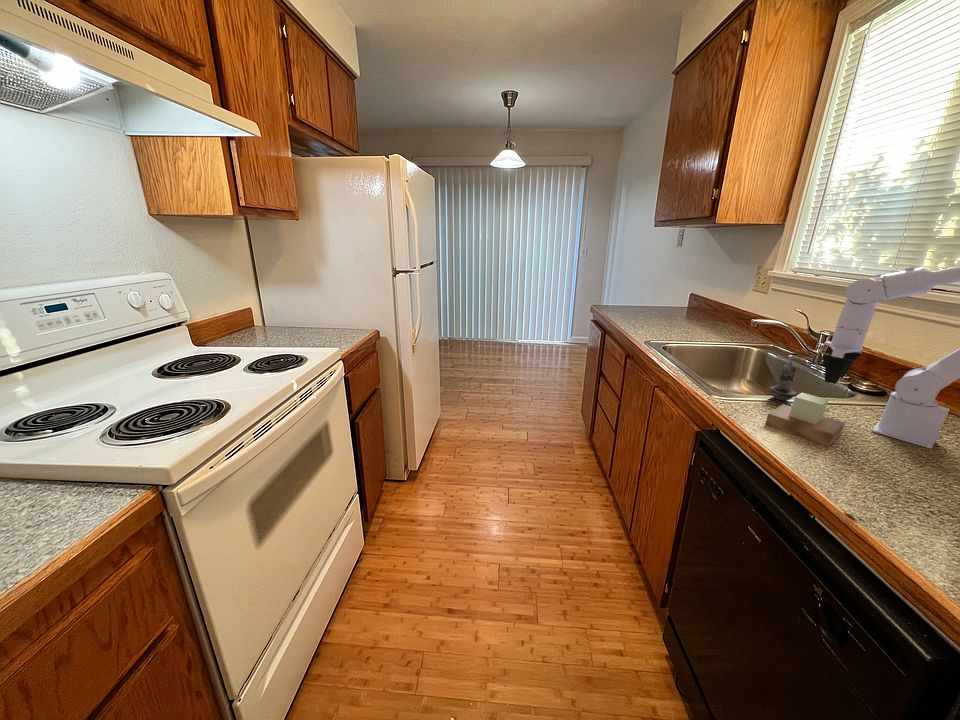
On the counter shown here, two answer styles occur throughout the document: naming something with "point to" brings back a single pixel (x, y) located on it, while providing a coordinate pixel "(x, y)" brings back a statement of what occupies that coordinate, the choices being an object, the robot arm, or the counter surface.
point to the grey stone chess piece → (784, 386)
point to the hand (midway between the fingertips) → (834, 379)
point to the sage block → (808, 408)
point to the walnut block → (805, 426)
